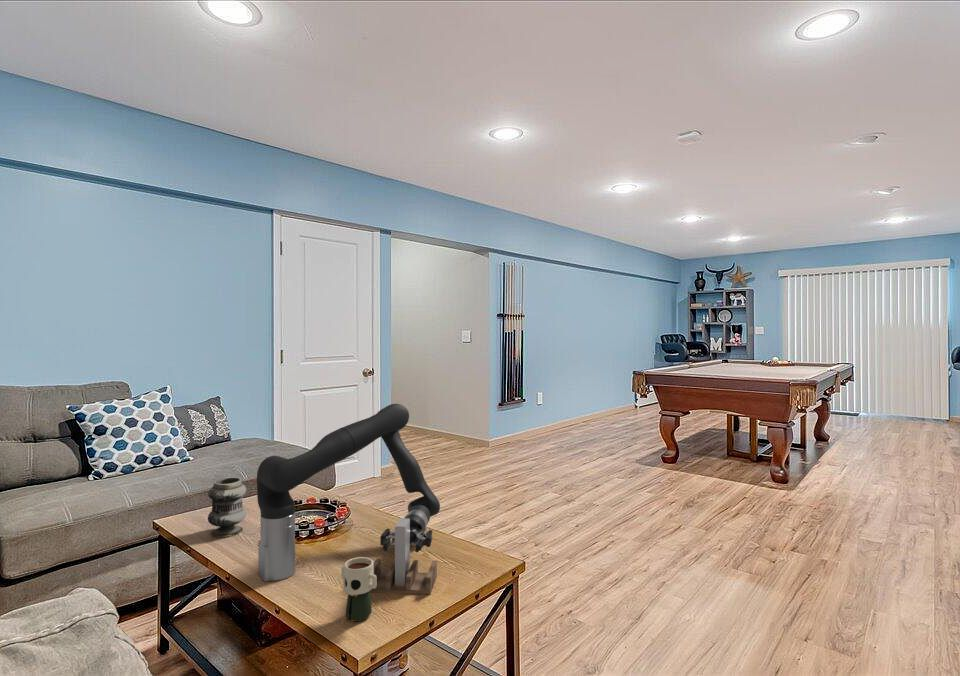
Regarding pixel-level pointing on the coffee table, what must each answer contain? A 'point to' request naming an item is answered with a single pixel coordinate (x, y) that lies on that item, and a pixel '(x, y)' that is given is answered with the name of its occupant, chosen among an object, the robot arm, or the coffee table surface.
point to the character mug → (358, 586)
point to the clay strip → (402, 551)
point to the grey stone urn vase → (227, 506)
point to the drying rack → (414, 579)
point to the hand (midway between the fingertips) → (401, 548)
